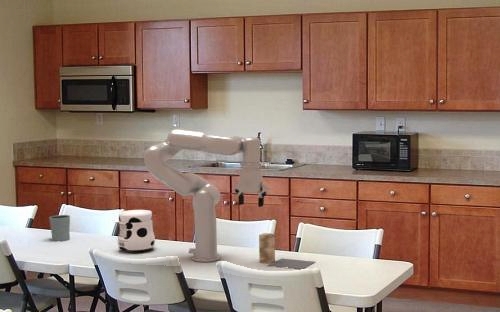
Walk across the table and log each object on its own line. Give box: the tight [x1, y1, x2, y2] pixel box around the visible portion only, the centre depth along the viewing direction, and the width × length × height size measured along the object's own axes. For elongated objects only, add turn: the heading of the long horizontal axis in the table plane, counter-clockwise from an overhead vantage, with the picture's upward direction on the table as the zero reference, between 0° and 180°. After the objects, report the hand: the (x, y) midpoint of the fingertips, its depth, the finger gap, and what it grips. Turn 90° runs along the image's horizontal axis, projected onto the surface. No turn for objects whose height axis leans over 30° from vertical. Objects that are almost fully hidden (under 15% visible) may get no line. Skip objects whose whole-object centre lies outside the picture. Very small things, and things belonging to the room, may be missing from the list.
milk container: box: [117, 209, 156, 253], centre depth 354 cm, size 17×17×18 cm
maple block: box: [258, 232, 276, 264], centre depth 326 cm, size 5×5×12 cm
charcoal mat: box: [266, 258, 316, 270], centre depth 321 cm, size 16×14×1 cm
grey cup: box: [48, 214, 71, 242], centre depth 383 cm, size 10×10×12 cm
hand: (251, 205), depth 327 cm, fingers open, 9 cm apart
